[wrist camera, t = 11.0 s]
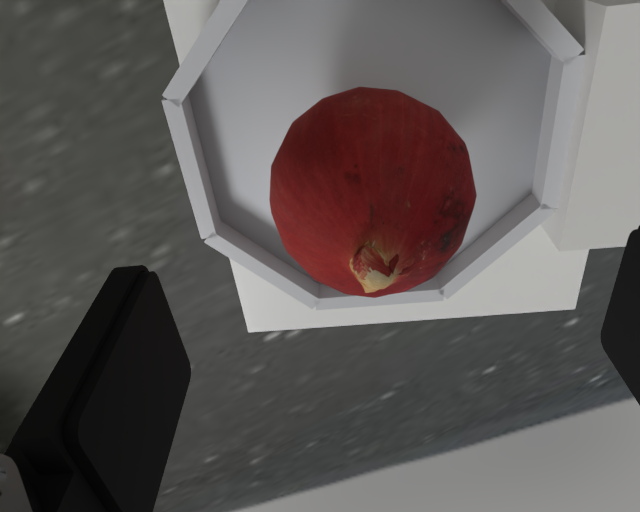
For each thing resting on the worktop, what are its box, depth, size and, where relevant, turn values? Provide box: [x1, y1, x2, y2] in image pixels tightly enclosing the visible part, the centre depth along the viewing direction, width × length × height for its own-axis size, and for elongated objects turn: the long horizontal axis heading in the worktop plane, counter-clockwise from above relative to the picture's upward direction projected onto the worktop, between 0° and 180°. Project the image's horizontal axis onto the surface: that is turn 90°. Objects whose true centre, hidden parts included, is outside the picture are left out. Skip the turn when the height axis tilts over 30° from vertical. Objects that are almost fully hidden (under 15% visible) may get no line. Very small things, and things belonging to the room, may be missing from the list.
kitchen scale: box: [162, 0, 640, 332], centre depth 19 cm, size 20×16×6 cm
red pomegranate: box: [269, 87, 477, 298], centre depth 14 cm, size 6×6×8 cm
